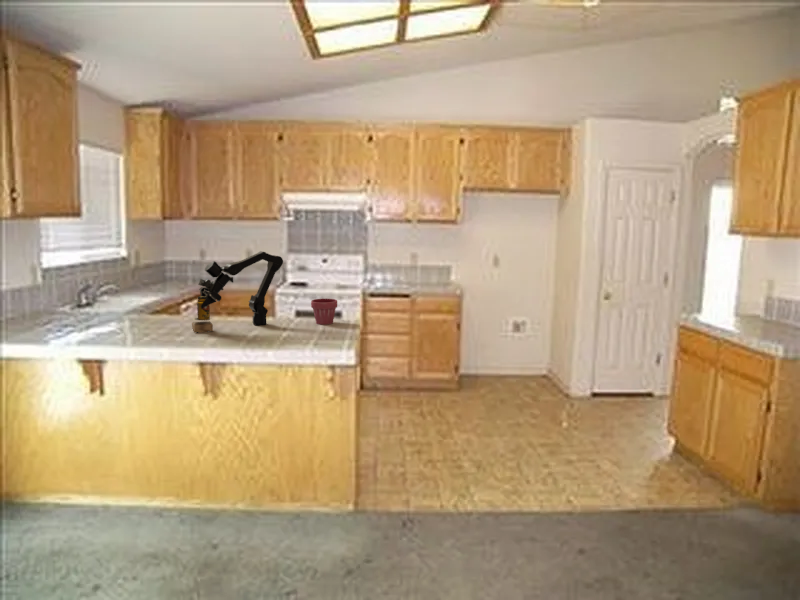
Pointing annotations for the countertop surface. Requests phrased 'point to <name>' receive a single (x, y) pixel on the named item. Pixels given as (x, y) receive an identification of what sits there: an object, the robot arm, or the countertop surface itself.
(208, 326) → the base block
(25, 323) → the countertop surface
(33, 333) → the countertop surface
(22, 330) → the countertop surface
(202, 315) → the condiment
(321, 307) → the plant pot
